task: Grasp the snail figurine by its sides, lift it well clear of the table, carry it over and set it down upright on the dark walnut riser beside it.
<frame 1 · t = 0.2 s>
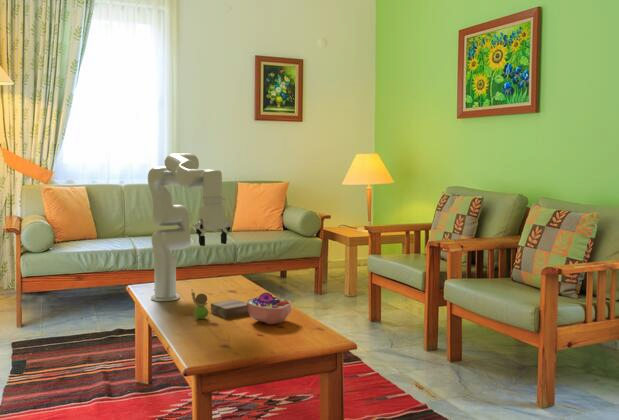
hand: (213, 244, 248), 30 cm above the table, tool pointing down, fingers open, 9 cm apart
walnut riser: (231, 313, 260), on the table
snail figurine: (199, 319, 251), on the table
cell model: (269, 323, 246), on the table
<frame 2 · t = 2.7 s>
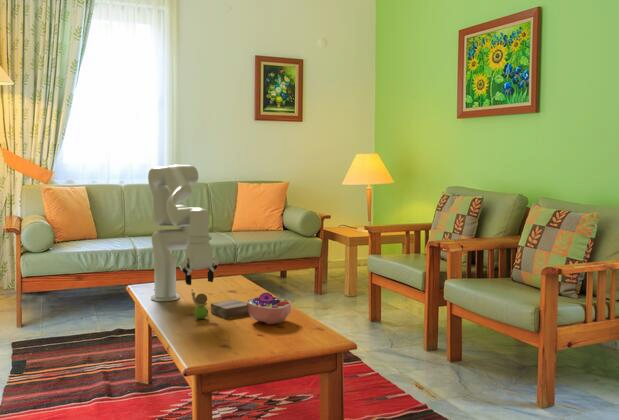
hand: (199, 283, 250), 15 cm above the table, tool pointing down, fingers open, 9 cm apart
nothing on the table moved.
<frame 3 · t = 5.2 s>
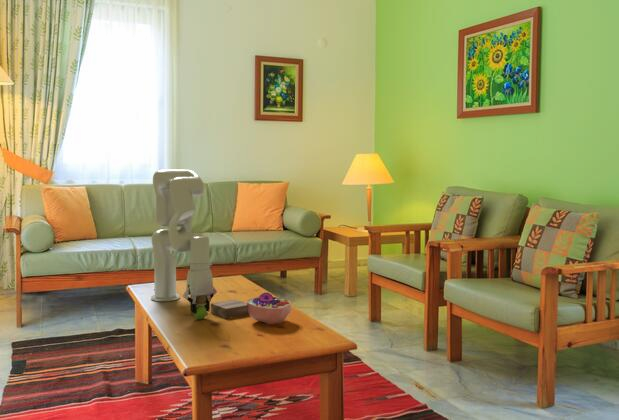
hand: (200, 311, 251), 3 cm above the table, tool pointing down, fingers closed on snail figurine, 5 cm apart
snail figurine: (198, 319, 251), on the table, touching gripper
everything else where it was.
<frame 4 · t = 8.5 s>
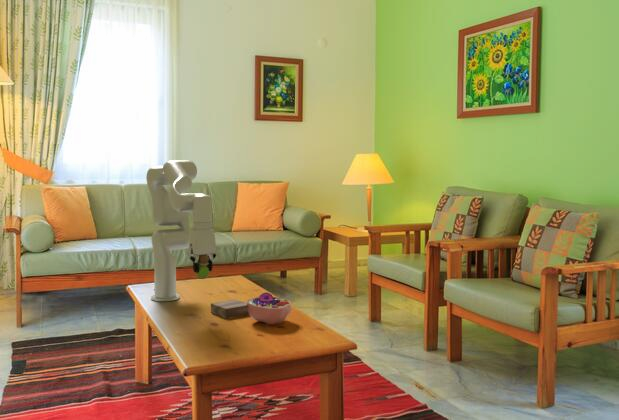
hand: (202, 271, 250), 19 cm above the table, tool pointing down, fingers closed on snail figurine, 5 cm apart
snail figurine: (201, 279, 250), point 16 cm above the table, touching gripper
everything else where it was.
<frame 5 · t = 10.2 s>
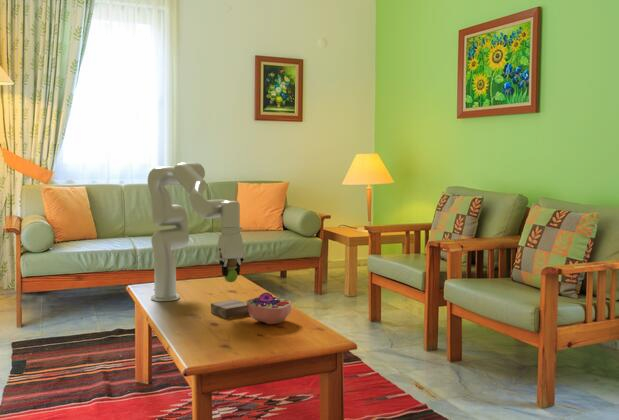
hand: (230, 274, 259), 16 cm above the table, tool pointing down, fingers closed on snail figurine, 5 cm apart
snail figurine: (229, 282, 258), point 13 cm above the table, touching gripper
everything else where it was.
when the fingers open (9 cm above the table, at t = 11.8 s): snail figurine drops 2 cm, resting on walnut riser.
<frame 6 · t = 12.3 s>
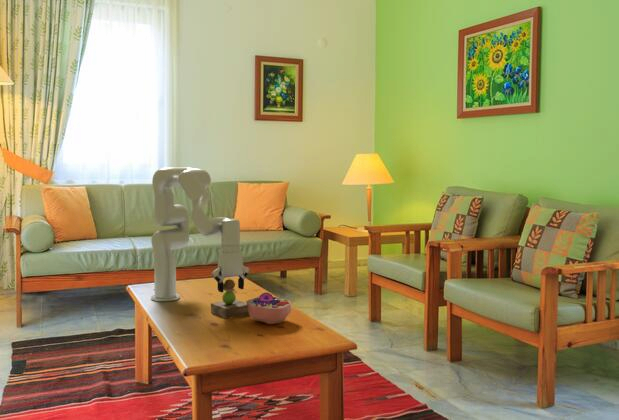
hand: (230, 290, 259), 10 cm above the table, tool pointing down, fingers open, 9 cm apart
snail figurine: (227, 304, 259), point 4 cm above the table, touching walnut riser
everything else where it was.
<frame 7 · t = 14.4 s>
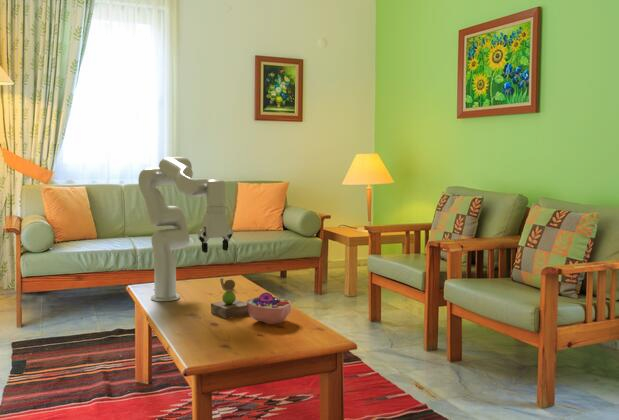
hand: (215, 251, 260), 26 cm above the table, tool pointing down, fingers open, 9 cm apart
nothing on the table moved.
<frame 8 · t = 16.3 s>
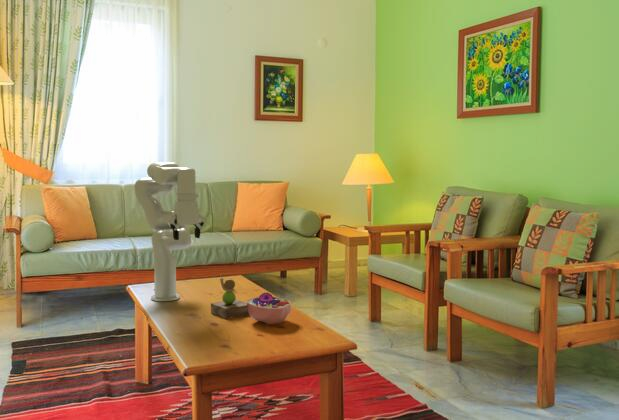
hand: (186, 238, 263), 30 cm above the table, tool pointing down, fingers open, 9 cm apart
nothing on the table moved.
at the end: snail figurine inside the target area on the walnut riser (1.4 cm from its centre), point 3.8 cm above the walnut riser's base; snail figurine tilted 0°; the gripper is holding nothing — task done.
